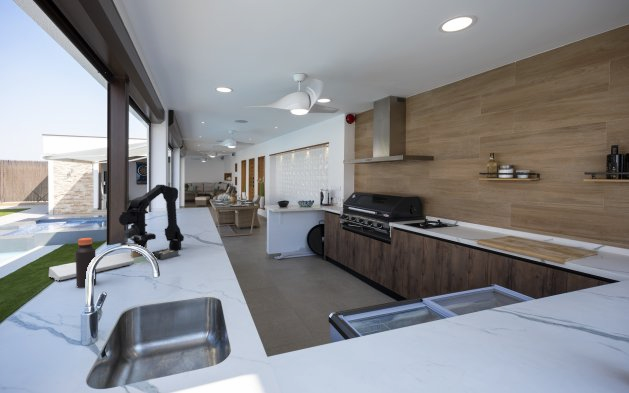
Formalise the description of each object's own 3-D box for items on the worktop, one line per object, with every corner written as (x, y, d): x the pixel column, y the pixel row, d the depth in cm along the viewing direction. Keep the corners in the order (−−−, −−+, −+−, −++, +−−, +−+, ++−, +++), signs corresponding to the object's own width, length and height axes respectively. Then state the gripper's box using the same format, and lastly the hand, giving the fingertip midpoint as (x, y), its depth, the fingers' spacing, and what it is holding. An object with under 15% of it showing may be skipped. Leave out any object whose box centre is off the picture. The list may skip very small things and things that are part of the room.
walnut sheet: (145, 259, 175) (144, 241, 175) (147, 259, 174) (146, 241, 174) (131, 262, 168) (130, 243, 167) (133, 263, 167) (132, 244, 167)
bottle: (86, 288, 131) (84, 240, 130) (72, 287, 132) (70, 240, 131) (100, 283, 138) (99, 237, 136) (87, 282, 139) (85, 237, 138)
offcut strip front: (171, 255, 184) (171, 250, 183) (173, 256, 183) (173, 251, 183) (162, 258, 178) (162, 253, 178) (164, 258, 177) (164, 253, 177)
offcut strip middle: (168, 255, 185) (168, 250, 185) (170, 255, 184) (170, 250, 184) (159, 257, 180) (158, 252, 179) (160, 257, 179) (160, 252, 179)
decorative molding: (135, 268, 168) (125, 260, 173) (137, 259, 167) (126, 252, 172) (58, 286, 139) (48, 276, 143) (59, 277, 138) (49, 267, 142)
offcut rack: (166, 254, 190) (166, 248, 190) (180, 256, 185) (180, 250, 184) (148, 258, 179) (148, 252, 179) (162, 261, 174) (162, 255, 174)
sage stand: (144, 259, 178) (144, 252, 178) (154, 260, 175) (153, 254, 174) (125, 263, 168) (125, 256, 168) (135, 265, 165) (134, 258, 165)
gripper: (113, 223, 167) (114, 252, 168) (136, 226, 159) (136, 256, 160) (133, 220, 177) (134, 248, 178) (156, 223, 169) (156, 252, 170)
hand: (139, 251), depth 171 cm, fingers closed on walnut sheet, 2 cm apart
